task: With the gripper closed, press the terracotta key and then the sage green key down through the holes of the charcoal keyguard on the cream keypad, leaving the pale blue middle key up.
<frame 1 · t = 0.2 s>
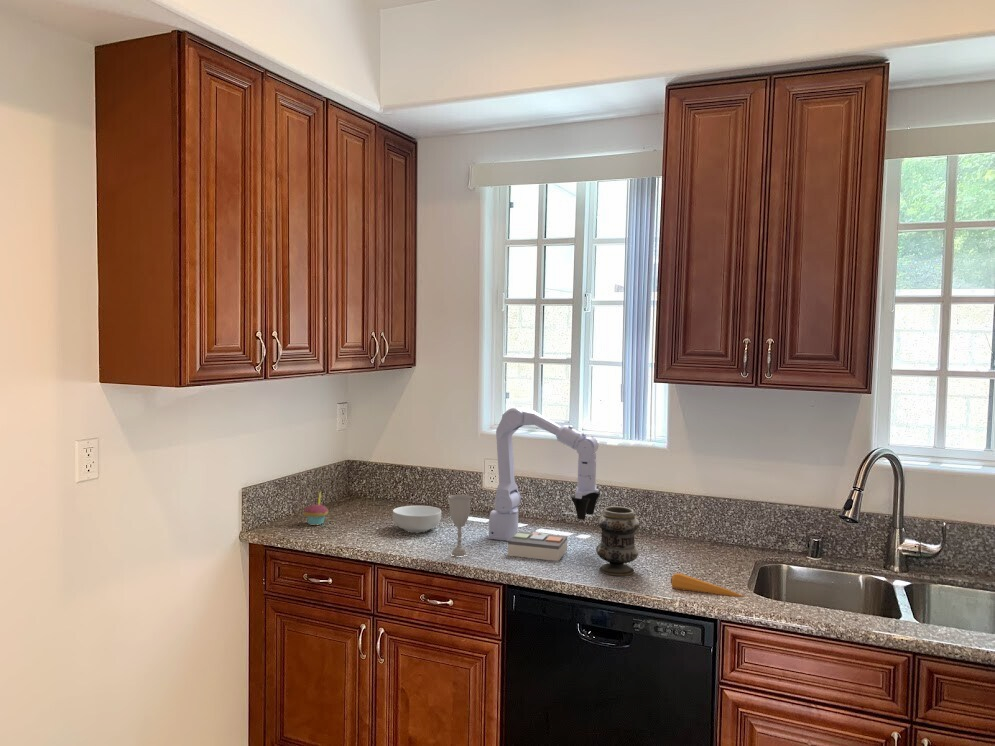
hand: (585, 516, 236), 10 cm above the worktop, tool pointing down, fingers open, 7 cm apart
sage key: (521, 538, 231), point 4 cm above the worktop, slide at 0.0 cm
keypad: (537, 552, 229), on the worktop
cereal bowl: (416, 530, 254), on the worktop
cupcake: (316, 525, 259), on the worktop
blue key: (537, 540, 229), point 4 cm above the worktop, slide at 0.0 cm
apothecary jar: (616, 571, 213), on the worktop
chalice: (459, 555, 225), on the worktop
carrot: (708, 594, 196), on the worktop
terracotta key: (554, 542, 227), point 4 cm above the worktop, slide at 0.0 cm
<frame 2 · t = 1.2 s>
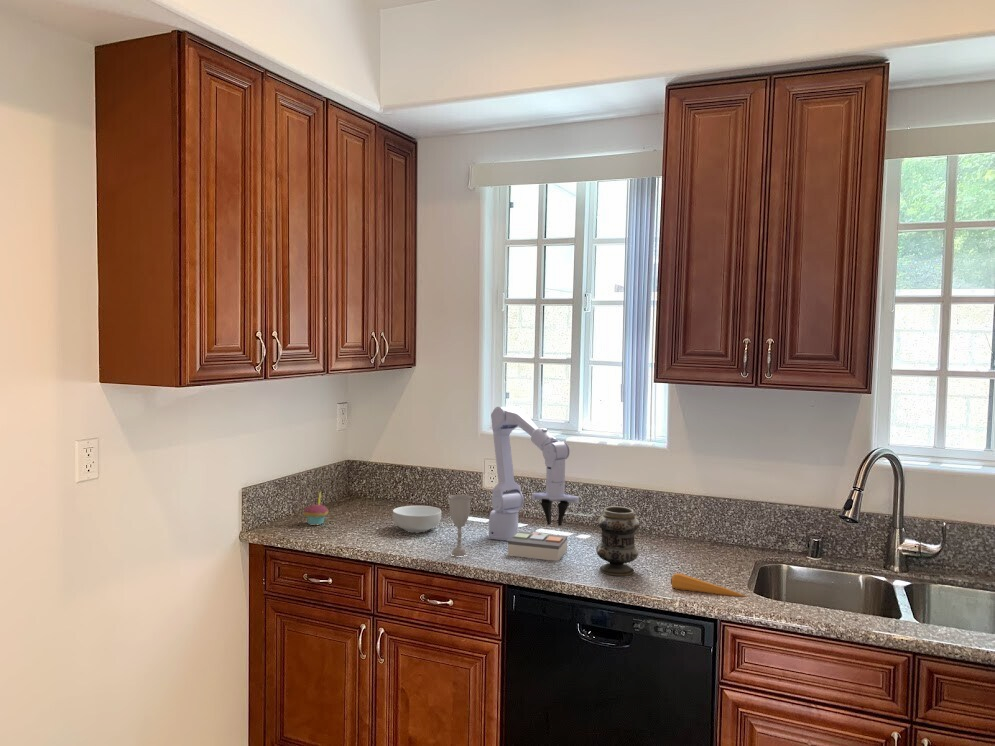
hand: (554, 524, 227), 9 cm above the worktop, tool pointing down, fingers open, 3 cm apart
nothing on the worktop moved.
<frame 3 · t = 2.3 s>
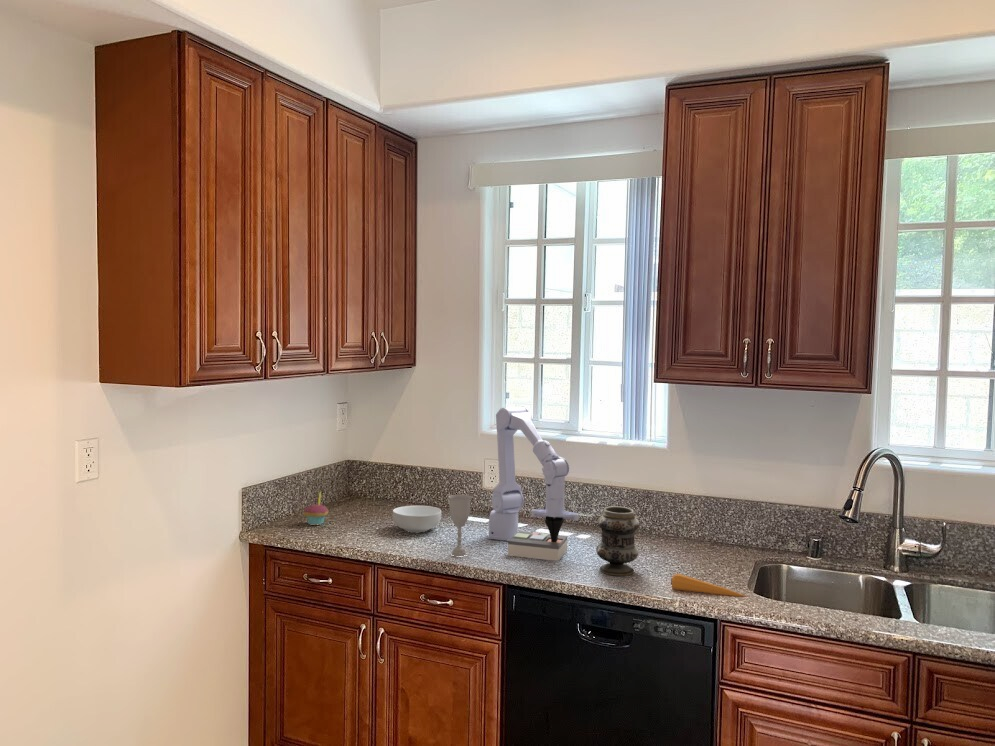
hand: (554, 541, 227), 4 cm above the worktop, tool pointing down, fingers closed, pressing on terracotta key
terracotta key: (554, 544, 227), point 3 cm above the worktop, slide at 0.8 cm, touching gripper
everything else where it was.
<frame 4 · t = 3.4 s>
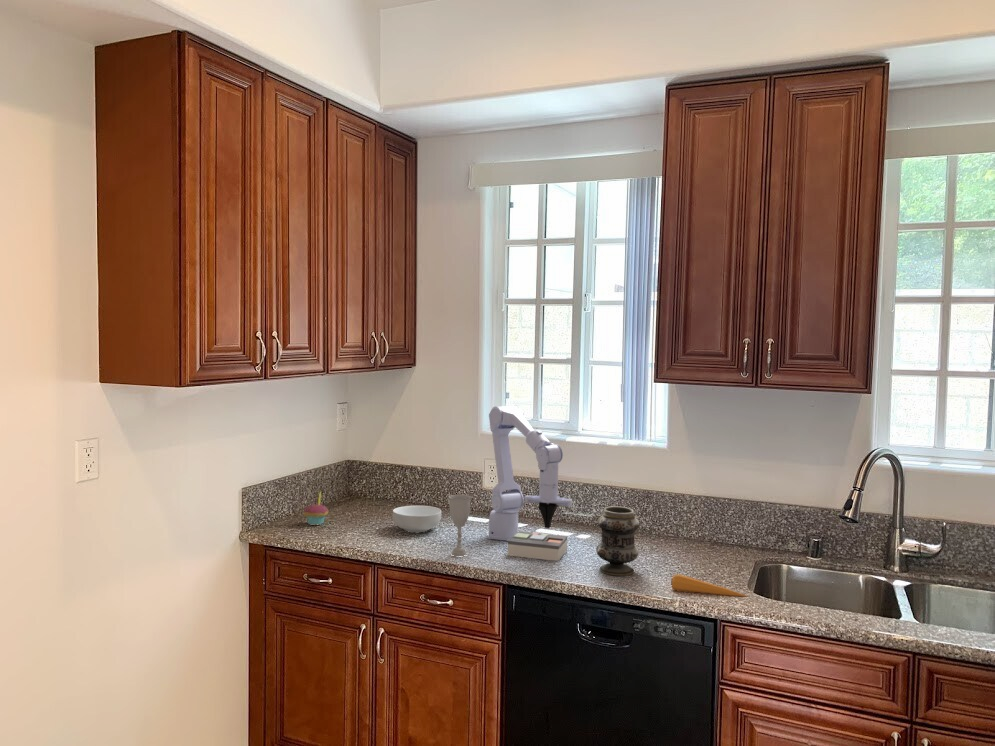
hand: (547, 527, 228), 8 cm above the worktop, tool pointing down, fingers closed
terracotta key: (554, 545, 227), point 3 cm above the worktop, slide at 1.0 cm
everything else where it was.
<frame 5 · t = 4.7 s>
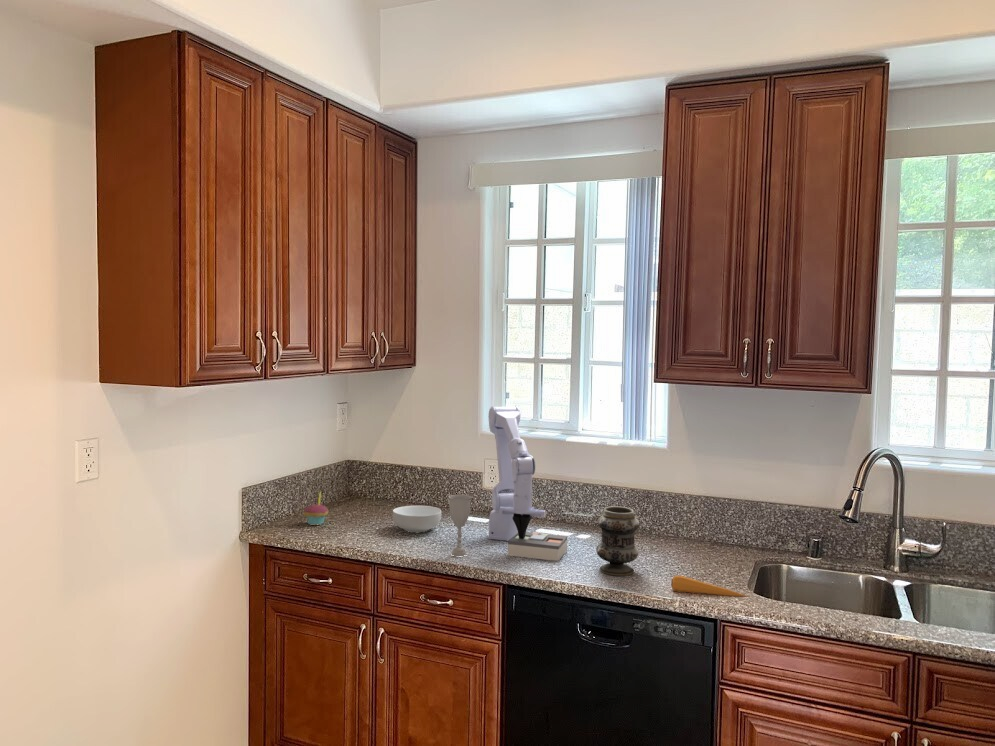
hand: (521, 538, 231), 4 cm above the worktop, tool pointing down, fingers closed, pressing on sage key
sage key: (521, 541, 231), point 3 cm above the worktop, slide at 0.8 cm, touching gripper
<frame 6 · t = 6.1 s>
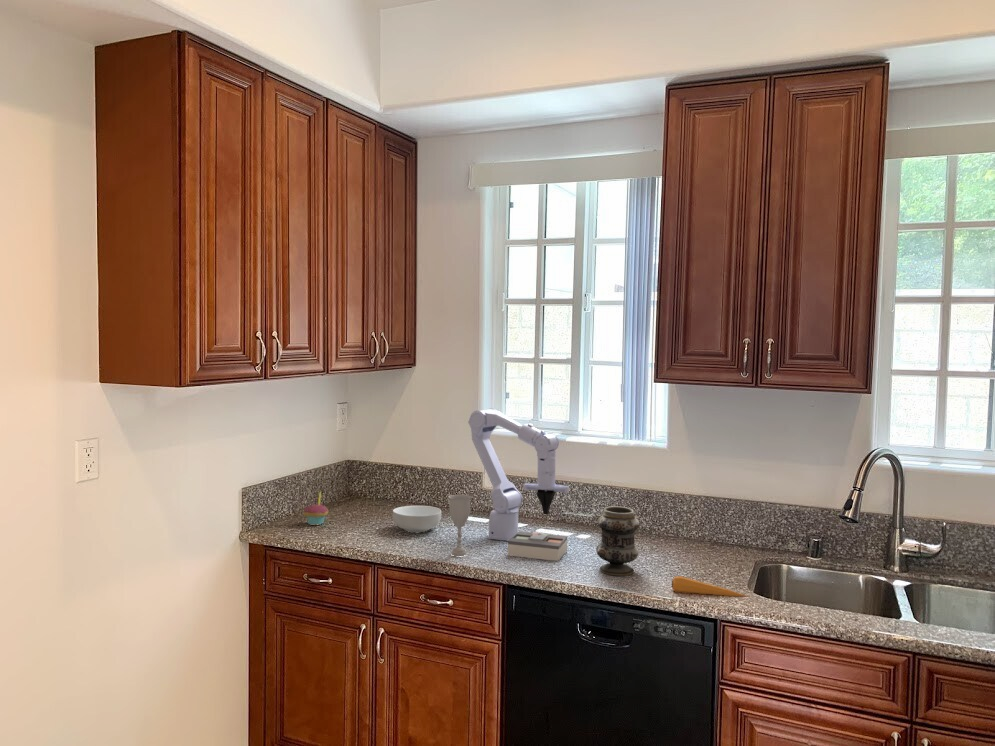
hand: (546, 513, 237), 10 cm above the worktop, tool pointing down, fingers closed
sage key: (521, 542, 231), point 3 cm above the worktop, slide at 1.0 cm
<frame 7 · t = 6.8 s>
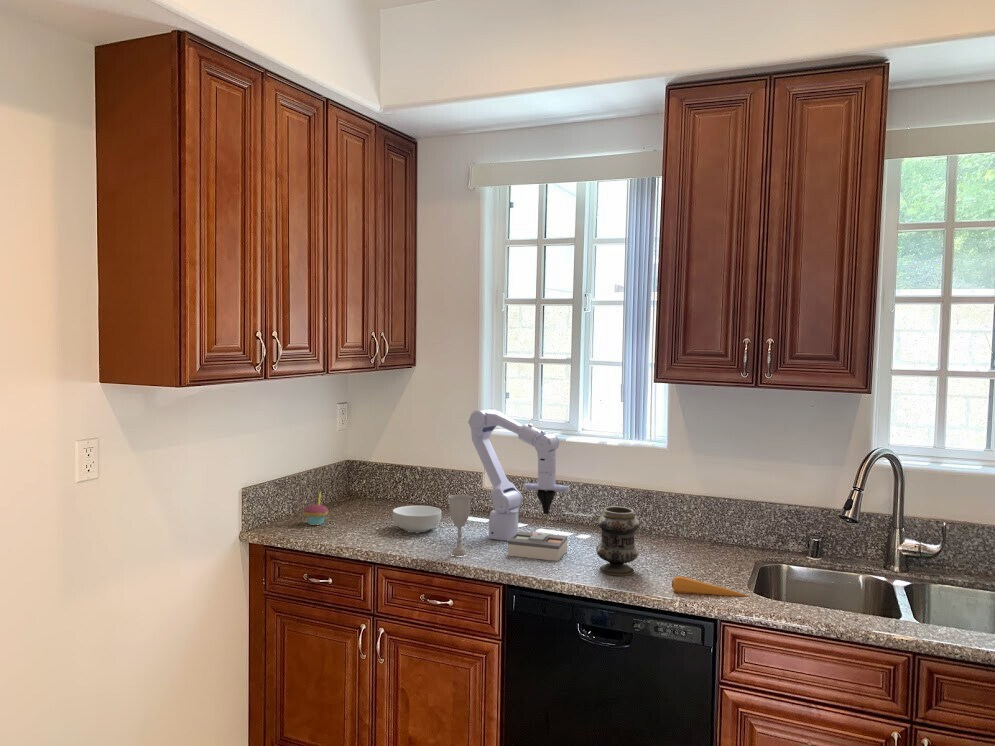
hand: (546, 513, 237), 10 cm above the worktop, tool pointing down, fingers closed
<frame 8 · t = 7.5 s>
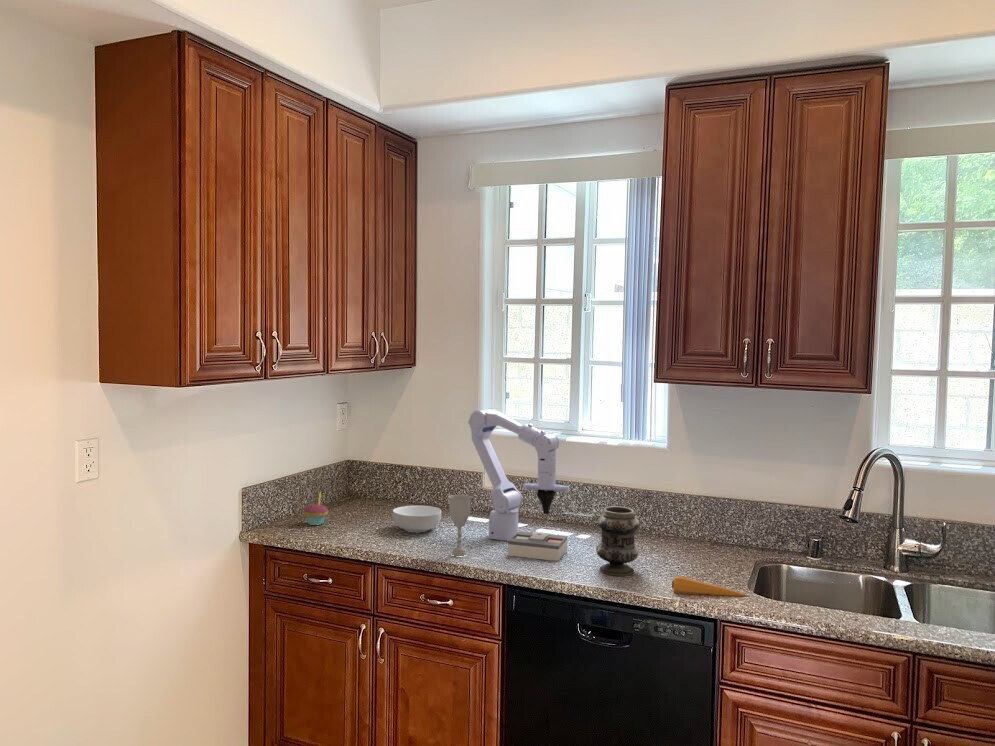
hand: (546, 513, 237), 10 cm above the worktop, tool pointing down, fingers closed
at the end: terracotta key slide at 1.0 cm; sage key slide at 1.0 cm; blue key slide at 0.0 cm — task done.
